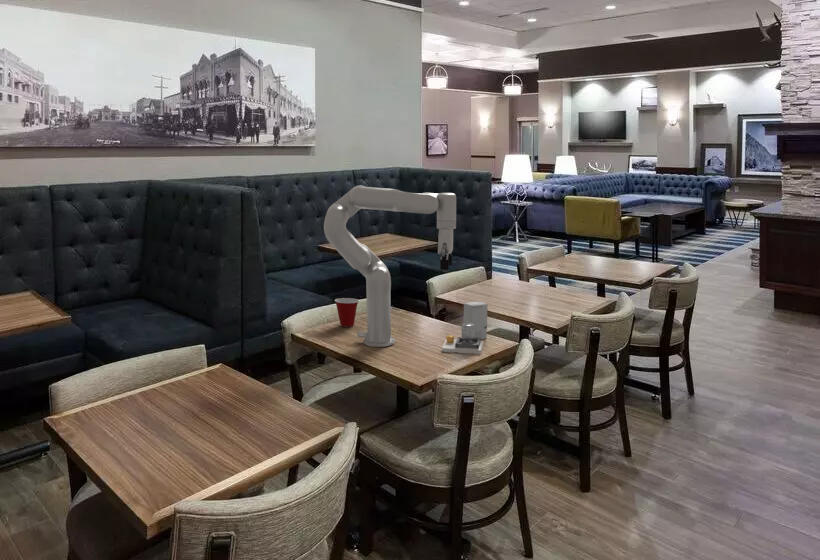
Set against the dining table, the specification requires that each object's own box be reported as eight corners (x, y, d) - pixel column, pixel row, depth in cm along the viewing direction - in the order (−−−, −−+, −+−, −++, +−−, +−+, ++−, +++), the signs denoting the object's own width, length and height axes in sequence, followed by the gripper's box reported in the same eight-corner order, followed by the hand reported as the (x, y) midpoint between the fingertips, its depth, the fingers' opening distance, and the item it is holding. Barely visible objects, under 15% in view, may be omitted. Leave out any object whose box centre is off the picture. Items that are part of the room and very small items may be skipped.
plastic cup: (364, 324, 281) (364, 298, 278) (349, 330, 272) (349, 303, 269) (345, 320, 287) (344, 295, 284) (330, 326, 278) (329, 300, 275)
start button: (445, 342, 248) (445, 337, 248) (447, 340, 251) (447, 335, 251) (453, 342, 248) (453, 337, 247) (454, 340, 251) (454, 335, 250)
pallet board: (441, 351, 243) (441, 344, 242) (446, 342, 254) (446, 335, 253) (480, 354, 240) (480, 346, 239) (483, 344, 251) (483, 337, 251)
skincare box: (470, 341, 255) (470, 305, 252) (462, 337, 260) (462, 302, 257) (487, 338, 259) (488, 303, 256) (479, 334, 264) (479, 300, 261)
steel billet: (460, 346, 244) (461, 326, 242) (461, 342, 249) (462, 322, 247) (473, 346, 243) (474, 327, 242) (474, 342, 248) (474, 323, 246)
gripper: (440, 221, 256) (440, 263, 260) (433, 227, 240) (433, 271, 243) (458, 222, 255) (458, 263, 258) (453, 227, 238) (452, 271, 242)
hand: (446, 267), depth 251 cm, fingers open, 9 cm apart
